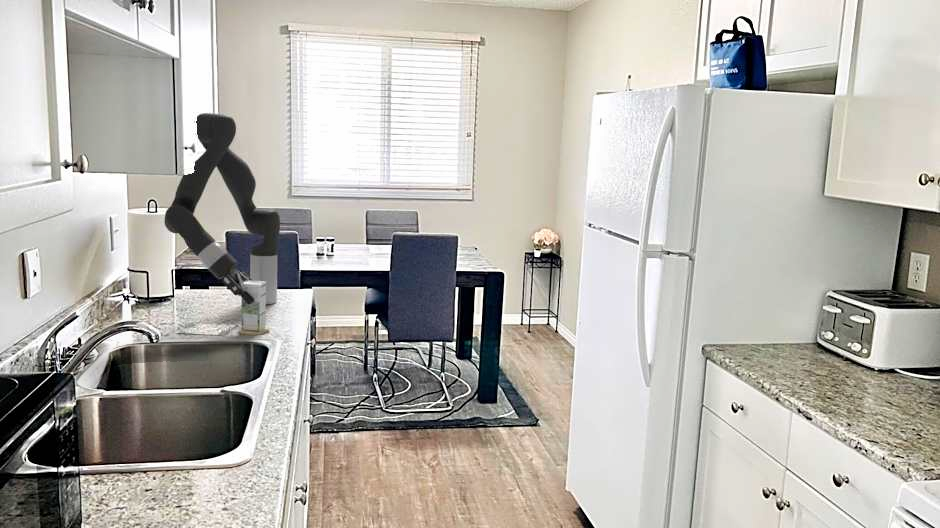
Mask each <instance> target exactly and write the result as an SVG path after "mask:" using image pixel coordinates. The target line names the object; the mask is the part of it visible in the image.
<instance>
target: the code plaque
mask: <svg viewBox="0 0 940 528" xmlns="http://www.w3.org/2000/svg"><path fill="white" fill-rule="evenodd" d="M191 323H192V324H191ZM191 323H188V324H187V325H186V326H188V327H189V328H191V327H190V326H192V325H195V326H196V324H198V323H199V322H191ZM194 323H196V324H194ZM186 326H185V327H186ZM192 327H193V326H192ZM229 327H230V326H229ZM186 328H187V327H186ZM198 328H199V327H198ZM230 328H231V327H230ZM230 328H229V329H228V330H226V331H225V330H223V331H224V332H223V331H221V333H219V334H218V337H224V336H225V335H226V334H228V333H229V332H230V331H231V330H230ZM234 328H235V327H233V329H234ZM187 329H188V328H187ZM195 330H196V329H195Z"/></svg>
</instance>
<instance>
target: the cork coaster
mask: <svg viewBox="0 0 940 528" xmlns="http://www.w3.org/2000/svg"><path fill="white" fill-rule="evenodd" d="M237 330H238V333H239V334H241V335H249V336H257V335H265V334H268V333H269V332H270V328H269V327H267V326H266V327H265V328H264V329H263V330H261V331H247V330H242V326H241V327H239V328H238V329H237Z"/></svg>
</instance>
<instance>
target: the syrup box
mask: <svg viewBox="0 0 940 528" xmlns="http://www.w3.org/2000/svg"><path fill="white" fill-rule="evenodd" d="M243 283H244V285H243V286H244V288H245V290H246V291H247V292H248V293H249V294H250V295H251V296H252V297H253V298H254V301H253V302H252V303H251V304H248V303H247V302H246V301H245V300H244V299H243V298H242V297H241V327H242V330H247V331H261V330H263V329H264V328H265V327H267V325H266V323H267V322H266V321H267V320H266V312H267V311H266V307H267V304H266V282H265V281H249V280H248V281H245V282H243Z"/></svg>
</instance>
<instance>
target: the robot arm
mask: <svg viewBox="0 0 940 528" xmlns="http://www.w3.org/2000/svg"><path fill="white" fill-rule="evenodd" d="M196 117H197V121H196V123H197V135H198V137H197V139H198V141H199V142H200V144H201V145H202V147H203V148H204V149H205V151H204V152H203V154H201V155H200V156H199V158H197V159H196V160H195V161H194V162H195V166H194V170H195V171H194V173H192V174H188V175H184V174H183V175H182V177H181V179H180V181H179V184H178V185H177V189H176V190H175V196H174V199H173V201H172V203H171V205H170V206H169V207H168V208H167V209H166V211H165V213H164V214H165V215H164V220H163V221H164V226H165V227H166V229H167V231H169V232H170V233H172V234H179V236H180V237H181V238H182V239H183V240H184V243H185V244H186V247H187V248H188V249H189V250H190V251H191V253H193V254H194V255H195V256H196V257H197V258H198V259H199V261H200V262H201V264H202V265H204V266H205V268H206V269H207V270H208V271H209V273H212V275H213V276H214V277H215V278H216V279H218V280H221V282H222V283H223V284H224V285H225V286H226V287H227V289H229V291H230V292H231V293H232V294H233V295H234V296H239V297H241V299H242V298H243V299H244V300H245V301H246V302H247V303H248V304H251V303H252V302H253V301H254V298H253V297H252V296H251V295H250V294H249V293H248V292H247V291H246V290H245V288H244V286H243V285H244V283H243V282H245V281H248V280H249V281H265V282H266V305H270V304H271V305H272V304H277V301H278V249H279V244H280V232H281V231H280V229H281V219H280V214H279V212H278V211H276V210H275V209H268V208H267V209H265V208H259V207H257V206H256V204H255V203H254V200H253V197H254V195H255V192H256V191H255V190H256V186H257V184H256V183H257V182H256V179H255V175H254V174H253V172H252V169H251V167H250V166H249V165H248V164H247V162H245V160H244V159H243V158H242V157H241V156H239V155H238V154H237V153H236V152H234V151H233V150H232V148H230V146H231V144H232V143H233V141H234V139H235V136H236V133H237V123H236V121H235V120H234V118H233V117H231V116H230V115H227V114H220V113H211V112H205V113H199V114H198V115H197V116H196ZM197 135H196V136H197ZM216 168H217V170H218V172H219V174H220V176H221V178H222V179H223V182H224V184H225V185H226V188H227V190H228V191H229V193H230V194H231V196H232V198H233V200H234V202H235V205H236V206H237V208H238V211H239V214H240V216H241V219H242V221H243V224H244V225H245V228H246V231H248V233H250V234H252V235H255V236H263V240H262V241H261V242H259V243H257V244H254V245H251V246H250V254H249V255H250V257H249V258H250V259H249V260H250V261H249V262H250V264H249V265H250V267H249V269H250V270H249V272H250V275H248V273H246V272H245V270H244V269H242V267H241V268H239V269H237V268H236V267H237V266H238V261H237V260H236V259H235V258H234V257H233V256H232V255H231V254H230V252H228V250H226V248H224V247H223V245H221V244H220V243H219V242H217V241H216V239H215V238H213V236H212V235H210V233H209V232H207V231H206V230H205V229H204V227H203V226H202V224H201V223H200V221H199V220H198V219H197V218H196V216H195V214H194V213H195V210H196V208H197V204H198V203H199V202H200V200H201V198H202V196H203V193H204V191H205V189H206V186H207V183H208V181H209V180H210V177H211V176H212V174H213V172H214V171H215V169H216Z"/></svg>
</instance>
